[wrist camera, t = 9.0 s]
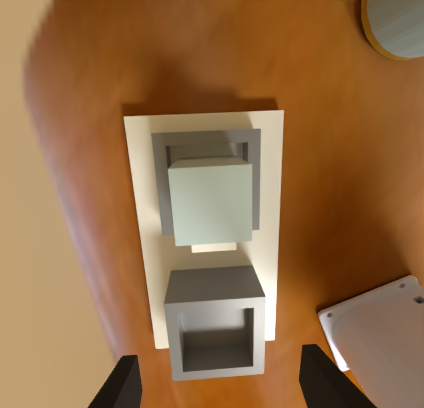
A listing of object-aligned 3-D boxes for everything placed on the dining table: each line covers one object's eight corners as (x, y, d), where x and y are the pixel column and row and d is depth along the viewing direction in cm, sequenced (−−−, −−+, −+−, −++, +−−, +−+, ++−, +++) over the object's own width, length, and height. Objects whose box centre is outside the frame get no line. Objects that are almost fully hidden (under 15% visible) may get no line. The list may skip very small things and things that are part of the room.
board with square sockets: (128, 117, 17) (99, 109, 12) (279, 111, 17) (310, 101, 12) (157, 339, 22) (146, 395, 17) (271, 331, 23) (290, 383, 18)
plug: (178, 158, 17) (167, 168, 11) (234, 154, 17) (252, 164, 11) (184, 218, 18) (176, 256, 12) (235, 215, 18) (252, 251, 12)
